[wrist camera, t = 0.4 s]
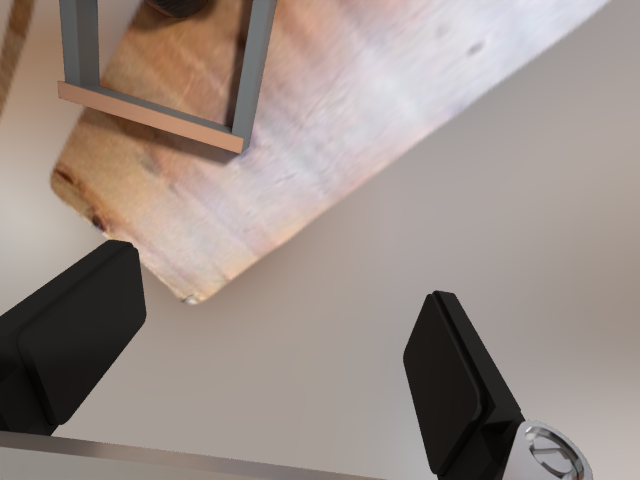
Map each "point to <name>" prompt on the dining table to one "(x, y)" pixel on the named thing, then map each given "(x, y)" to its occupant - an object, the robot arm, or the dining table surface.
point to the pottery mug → (177, 7)
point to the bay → (87, 91)
